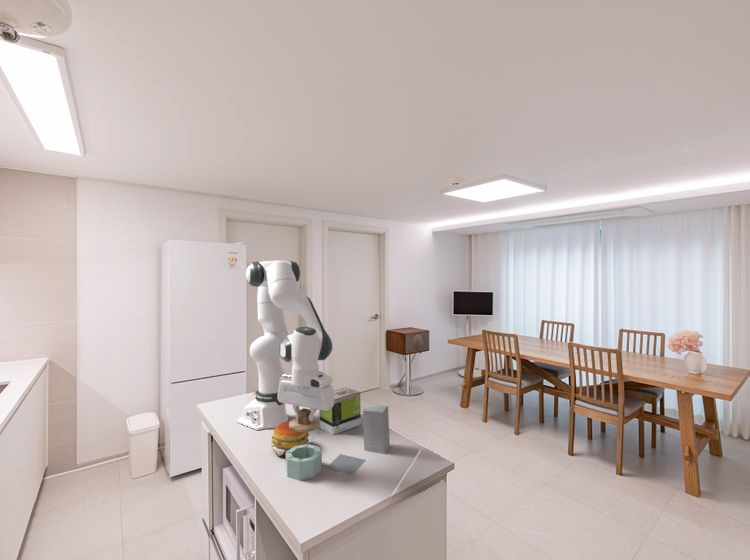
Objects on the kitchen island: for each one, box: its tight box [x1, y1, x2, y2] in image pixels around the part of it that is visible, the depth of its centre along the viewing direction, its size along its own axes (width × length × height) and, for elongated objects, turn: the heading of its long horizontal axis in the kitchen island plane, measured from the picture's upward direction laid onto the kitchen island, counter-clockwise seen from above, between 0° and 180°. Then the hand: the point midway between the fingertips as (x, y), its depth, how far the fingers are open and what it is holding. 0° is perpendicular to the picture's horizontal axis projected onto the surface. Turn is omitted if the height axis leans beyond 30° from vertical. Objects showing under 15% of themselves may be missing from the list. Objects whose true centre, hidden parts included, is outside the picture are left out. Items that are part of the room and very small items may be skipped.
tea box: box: [319, 386, 362, 436], centre depth 148 cm, size 15×10×15 cm
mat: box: [325, 453, 367, 476], centre depth 118 cm, size 10×10×1 cm
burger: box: [271, 420, 310, 457], centre depth 128 cm, size 14×14×10 cm
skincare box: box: [362, 403, 391, 455], centre depth 128 cm, size 8×7×16 cm
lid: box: [289, 407, 320, 433], centre depth 114 cm, size 10×10×5 cm
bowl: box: [285, 443, 323, 481], centre depth 114 cm, size 11×11×6 cm
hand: (304, 419), depth 114 cm, fingers closed on lid, 3 cm apart
